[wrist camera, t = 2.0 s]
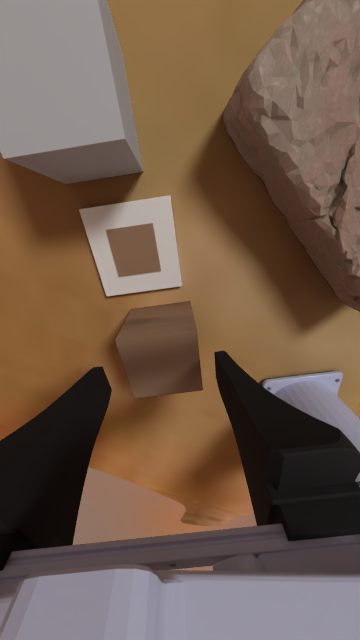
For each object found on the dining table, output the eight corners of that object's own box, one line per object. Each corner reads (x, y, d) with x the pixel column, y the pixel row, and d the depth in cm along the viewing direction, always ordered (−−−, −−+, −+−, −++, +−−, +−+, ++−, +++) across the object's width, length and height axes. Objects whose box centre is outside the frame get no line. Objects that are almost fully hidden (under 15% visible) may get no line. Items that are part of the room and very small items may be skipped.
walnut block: (195, 349, 18) (202, 390, 14) (143, 356, 18) (134, 398, 14) (189, 300, 16) (196, 329, 11) (131, 308, 16) (114, 340, 12)
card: (181, 284, 15) (181, 286, 15) (108, 294, 15) (106, 296, 15) (170, 196, 12) (170, 195, 12) (81, 209, 13) (78, 209, 12)
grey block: (143, 172, 12) (125, 138, 7) (66, 184, 12) (3, 158, 8) (122, 53, 10) (78, -95, 5) (29, 70, 10) (-91, -61, 5)
